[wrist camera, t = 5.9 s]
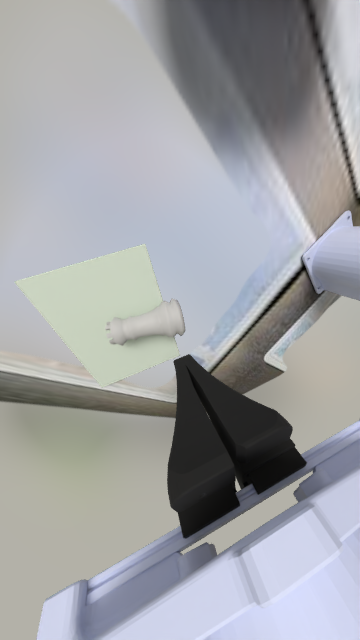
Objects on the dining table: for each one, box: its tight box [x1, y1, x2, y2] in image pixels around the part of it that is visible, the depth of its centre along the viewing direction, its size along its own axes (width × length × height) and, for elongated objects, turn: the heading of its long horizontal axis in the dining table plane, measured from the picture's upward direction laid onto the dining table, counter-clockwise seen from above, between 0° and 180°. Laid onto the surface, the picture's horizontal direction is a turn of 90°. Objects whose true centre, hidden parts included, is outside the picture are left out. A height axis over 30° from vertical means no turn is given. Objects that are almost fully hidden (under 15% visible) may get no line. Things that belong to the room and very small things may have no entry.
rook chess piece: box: [105, 299, 185, 346], centre depth 18 cm, size 4×4×8 cm
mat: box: [15, 244, 180, 388], centre depth 19 cm, size 12×16×1 cm
